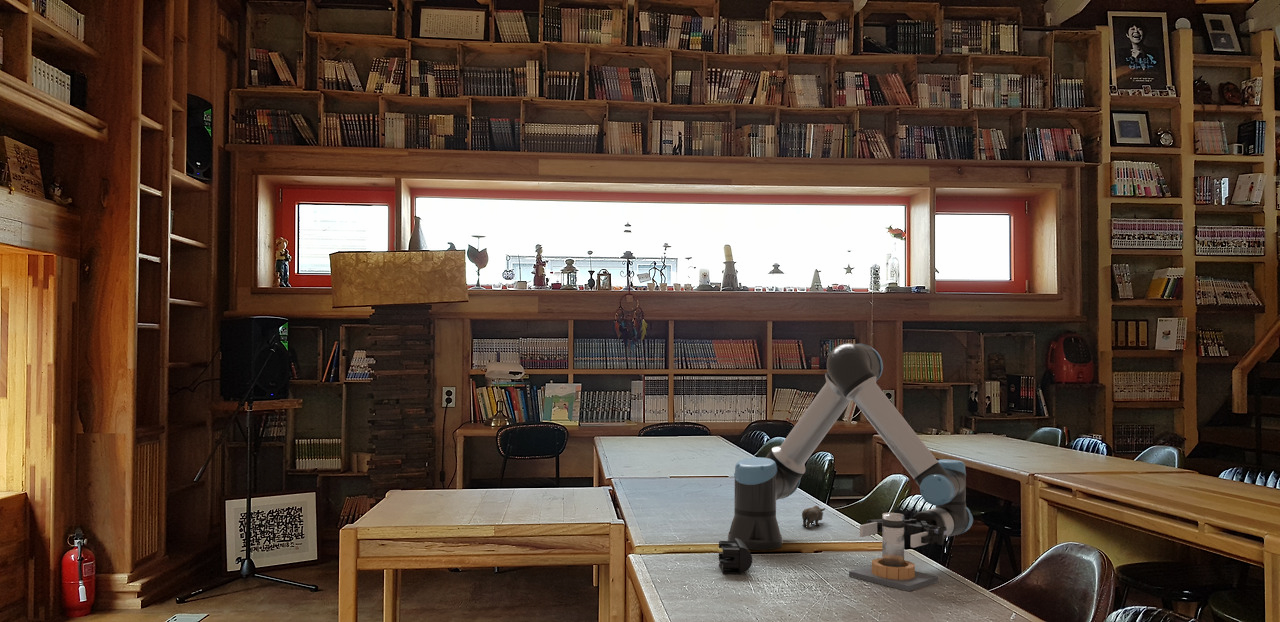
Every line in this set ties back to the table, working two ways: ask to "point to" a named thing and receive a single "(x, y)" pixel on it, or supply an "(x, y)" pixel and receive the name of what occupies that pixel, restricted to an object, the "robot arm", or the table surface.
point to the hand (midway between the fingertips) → (885, 536)
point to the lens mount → (894, 575)
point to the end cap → (734, 557)
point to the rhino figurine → (812, 515)
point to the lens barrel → (893, 539)
